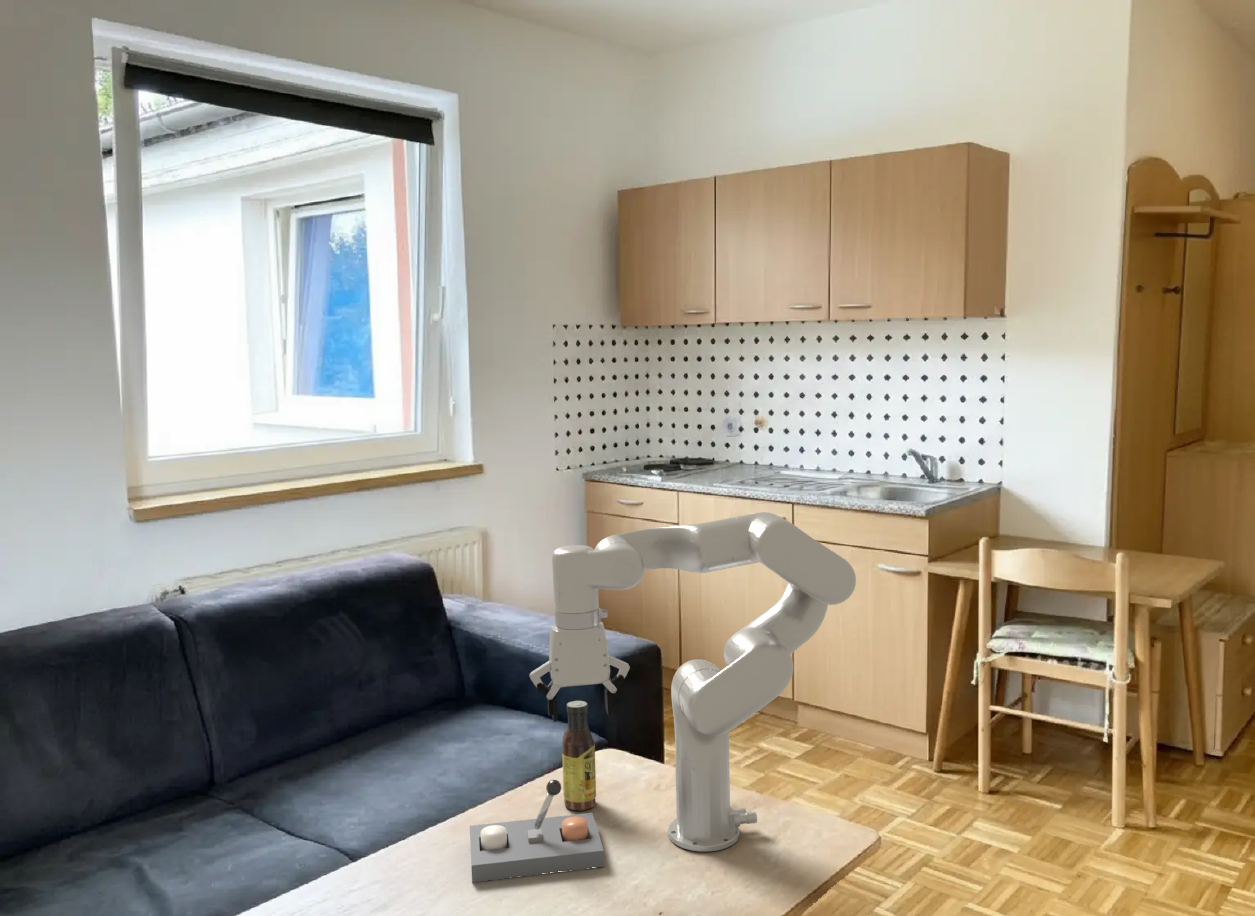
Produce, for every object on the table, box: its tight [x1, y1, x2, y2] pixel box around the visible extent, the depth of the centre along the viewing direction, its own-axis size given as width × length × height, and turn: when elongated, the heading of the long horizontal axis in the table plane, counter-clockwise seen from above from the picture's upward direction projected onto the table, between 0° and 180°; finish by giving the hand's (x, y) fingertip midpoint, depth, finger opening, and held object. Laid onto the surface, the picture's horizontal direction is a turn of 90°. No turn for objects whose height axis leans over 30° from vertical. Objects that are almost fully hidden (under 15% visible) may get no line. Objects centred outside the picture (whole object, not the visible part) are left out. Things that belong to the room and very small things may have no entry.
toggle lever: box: [534, 779, 562, 830], centre depth 173 cm, size 3×3×9 cm
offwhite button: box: [481, 825, 507, 851], centre depth 172 cm, size 4×4×4 cm
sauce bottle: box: [561, 700, 597, 812], centre depth 191 cm, size 6×6×20 cm
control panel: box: [469, 812, 605, 884], centre depth 174 cm, size 22×14×4 cm, turn 100°
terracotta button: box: [562, 817, 588, 842], centre depth 175 cm, size 4×4×4 cm
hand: (582, 715), depth 173 cm, fingers open, 9 cm apart
